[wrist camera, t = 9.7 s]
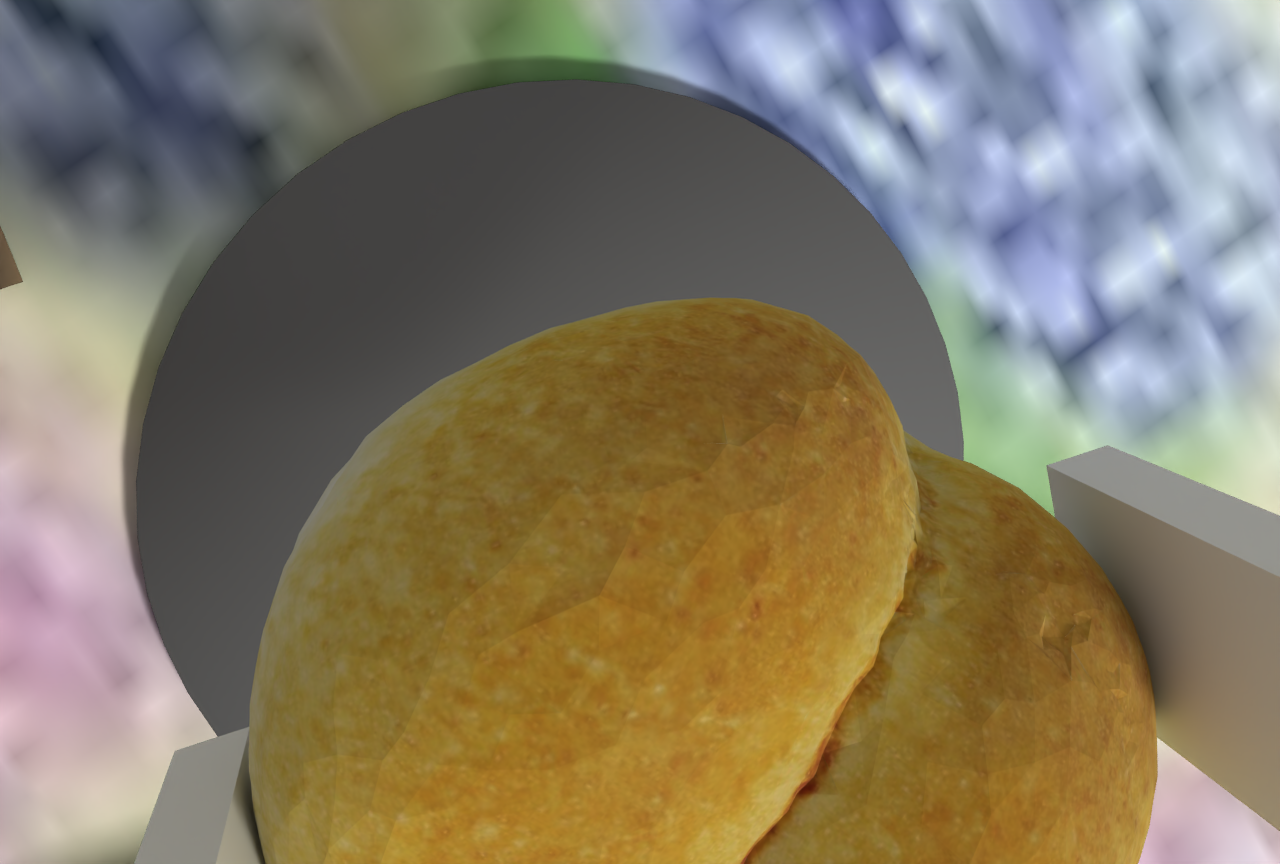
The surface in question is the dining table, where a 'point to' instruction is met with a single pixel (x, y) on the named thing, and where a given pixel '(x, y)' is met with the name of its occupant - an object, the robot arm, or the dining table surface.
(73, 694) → the dining table surface
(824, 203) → the mat
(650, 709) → the bread roll
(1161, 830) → the dining table surface
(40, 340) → the dining table surface
